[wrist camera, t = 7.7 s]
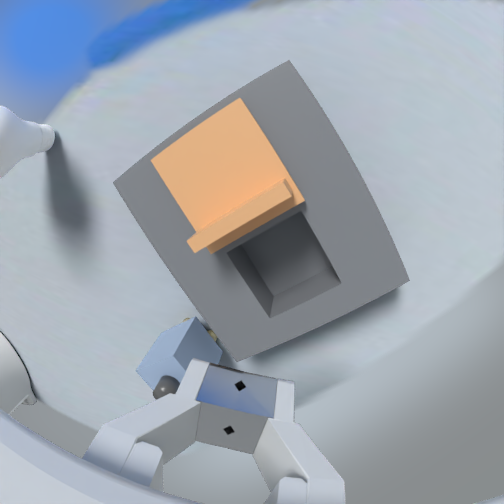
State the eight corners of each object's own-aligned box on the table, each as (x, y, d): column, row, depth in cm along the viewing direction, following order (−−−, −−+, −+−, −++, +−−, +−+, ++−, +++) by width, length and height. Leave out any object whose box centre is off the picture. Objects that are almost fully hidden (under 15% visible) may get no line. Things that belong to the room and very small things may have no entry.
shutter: (213, 251, 20) (199, 269, 17) (154, 159, 19) (131, 163, 16) (304, 199, 18) (306, 209, 15) (241, 99, 17) (231, 90, 14)
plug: (192, 356, 29) (161, 419, 21) (167, 324, 28) (127, 383, 20) (226, 342, 27) (201, 409, 19) (200, 307, 27) (165, 369, 19)
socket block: (244, 333, 27) (236, 362, 23) (138, 176, 24) (112, 182, 20) (394, 260, 23) (409, 280, 19) (290, 74, 20) (289, 60, 16)
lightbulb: (83, 138, 23) (-14, 147, 13) (48, 182, 25) (-41, 207, 15) (56, 93, 22) (-35, 88, 12) (24, 137, 24) (-61, 149, 13)
